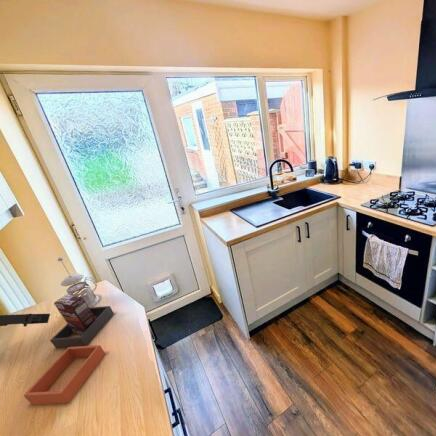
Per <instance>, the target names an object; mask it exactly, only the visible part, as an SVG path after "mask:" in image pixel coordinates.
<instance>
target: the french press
mask: <svg viewBox="0 0 436 436" xmlns="http://www.w3.org/2000/svg"><path fill="white" fill-rule="evenodd" d="M64 259H65V258H64V257H62V256H60V257H58V258H57V259H56V260H57V261H58V262H61V263H62V265H63V267H64V268H65V270H66V272H67V274H68V275H69V276H67V277H64V279H63V280H62V281H60V286H61V287H67V289H66V292H67V295H70V296H77V297H83V298H84V300H85V302H86V304H87V305H88V307H94V306H95V305H96V304H97V303H99V301H100V297H99V296H98V295H96V294H95V291H96V289H97V287H98V283H97V280H95V279H94V278H93V277H88V276H86V277H84V273H74V274H70V272H69V270H68V269H67V267H66V266H65V264H64V262H63V261H64ZM82 279H84V280H83V281H82ZM87 281H91V282H92V283H93V284H94V286H95V287H94V288H93V289H92V288H91V286H90V284H89V283H87Z"/></svg>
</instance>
